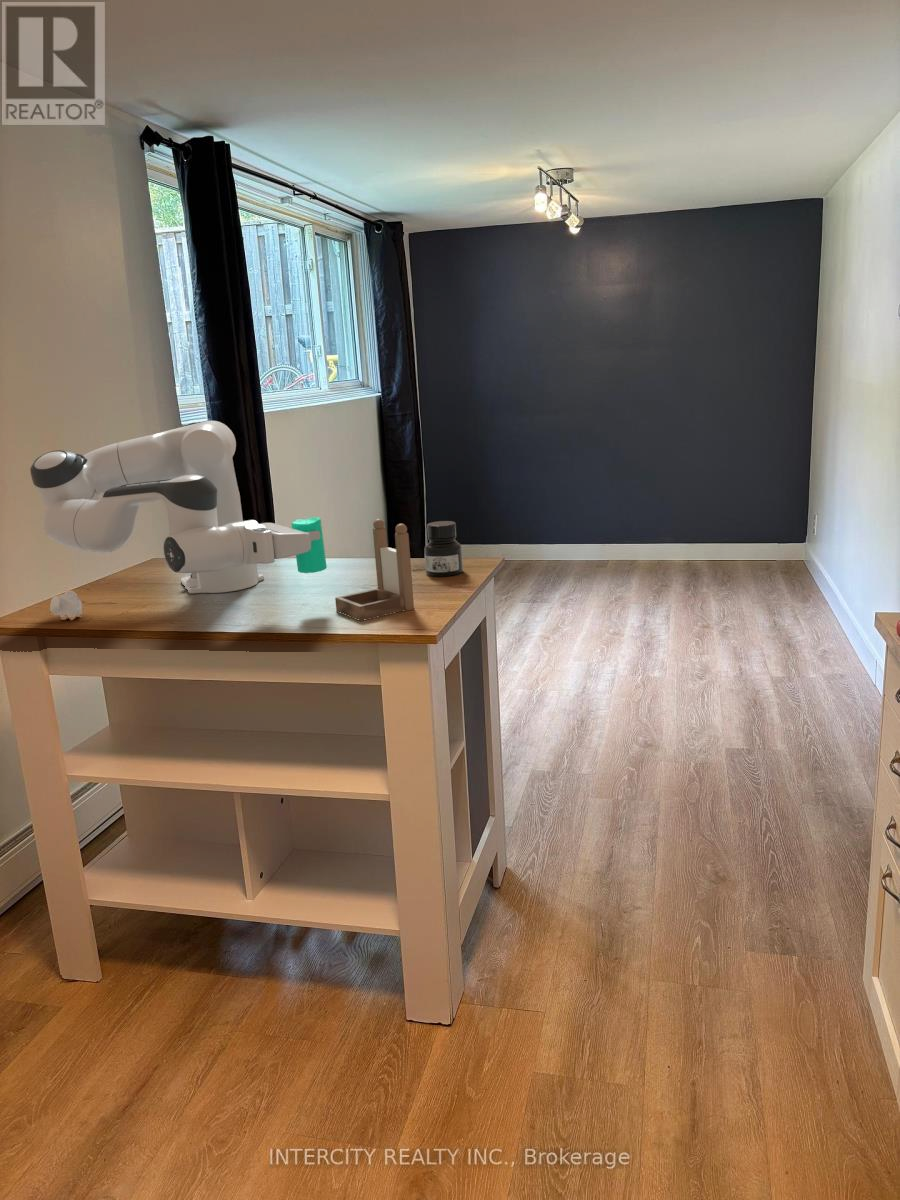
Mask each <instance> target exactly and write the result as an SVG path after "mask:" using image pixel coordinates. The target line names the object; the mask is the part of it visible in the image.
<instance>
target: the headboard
mask: <svg viewBox="0 0 900 1200" xmlns="http://www.w3.org/2000/svg"><path fill="white" fill-rule="evenodd" d="M372 527H373V528H372V536H373V538H372V539H373V547H374V548H373V549H374V559H375V568H376V569H375V570H376V582H377V583H376V584H377V588H380V589H383V590H386V591H389V592H392V593H395V594H398V595H401V596H404V600H405V610H407V611H410V610H409V609H411V610H414V609H415V601H414V589H413V578H412V564H411V552H410V537H409V533H408V532H407V531H408V527H407V526H406V525H405V523H399V524H398V523H397V525H396V526H395V527H394V528H395V533H394V540H395V542H394V543H395V548H394V547H393V548H392V547H388V540H387V539H388V538H387V530H386V527H385V522H384V519H381V518H377V519H374V521H373V523H372Z"/></svg>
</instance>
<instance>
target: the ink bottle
mask: <svg viewBox="0 0 900 1200" xmlns="http://www.w3.org/2000/svg"><path fill="white" fill-rule="evenodd" d="M426 529H427V539H428V541H429V542H427V544H426V545H425V546H424V550H423V551H424V565H425V566H424V567H425V573H426V575H428V576H432V577H450V576H451V575H452V576H455V575H458V574H461V573H462V572H463V570H464V568H463V554H462V553H463V551H462V550H463V549H462V544H461V543H459V542H458V540H456V538H457V524H456V522H455V521H452V520H439V521H433V522H432V521H431V522H430V523H427V524H426Z"/></svg>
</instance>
